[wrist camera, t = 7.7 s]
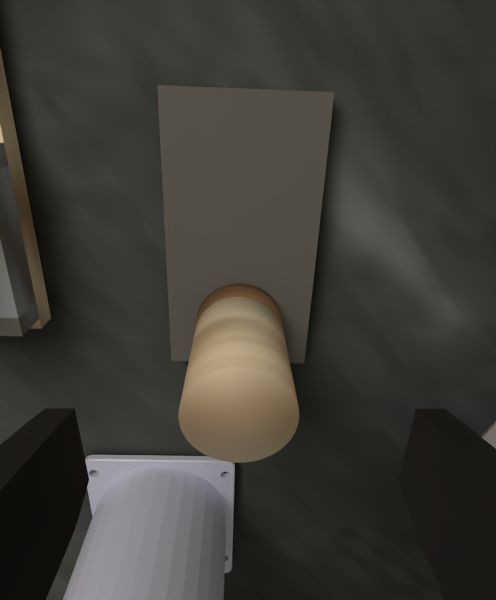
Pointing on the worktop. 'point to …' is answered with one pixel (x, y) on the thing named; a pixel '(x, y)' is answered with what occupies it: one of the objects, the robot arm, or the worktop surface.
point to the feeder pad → (242, 199)
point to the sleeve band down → (239, 378)
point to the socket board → (17, 236)
